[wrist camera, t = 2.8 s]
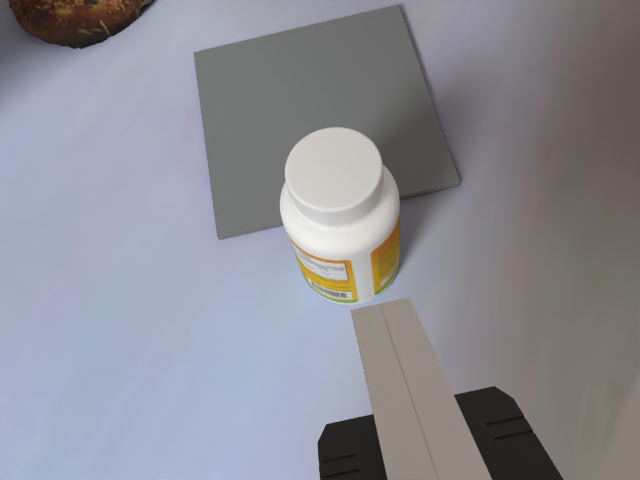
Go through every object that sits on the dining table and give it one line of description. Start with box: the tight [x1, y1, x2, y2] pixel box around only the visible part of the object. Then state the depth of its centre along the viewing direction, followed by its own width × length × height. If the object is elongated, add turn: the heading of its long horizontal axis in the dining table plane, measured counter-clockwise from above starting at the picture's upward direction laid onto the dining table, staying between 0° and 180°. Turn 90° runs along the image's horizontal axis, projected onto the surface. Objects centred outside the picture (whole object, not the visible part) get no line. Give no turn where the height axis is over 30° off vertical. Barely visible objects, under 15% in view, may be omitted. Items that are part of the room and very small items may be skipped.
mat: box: [194, 5, 460, 240], centre depth 37 cm, size 14×14×1 cm
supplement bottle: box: [280, 127, 400, 305], centre depth 28 cm, size 5×5×10 cm
